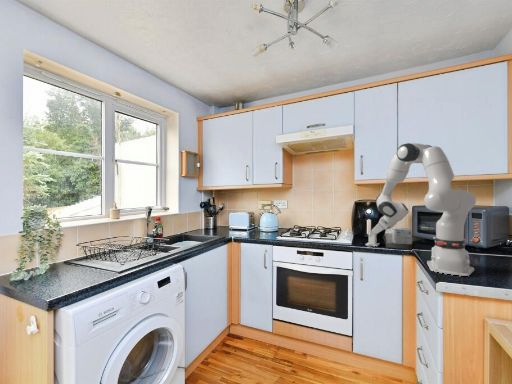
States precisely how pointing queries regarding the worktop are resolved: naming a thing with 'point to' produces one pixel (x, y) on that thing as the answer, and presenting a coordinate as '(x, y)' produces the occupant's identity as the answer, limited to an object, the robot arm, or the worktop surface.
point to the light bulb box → (402, 235)
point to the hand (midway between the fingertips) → (371, 235)
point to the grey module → (372, 239)
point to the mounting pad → (372, 245)
